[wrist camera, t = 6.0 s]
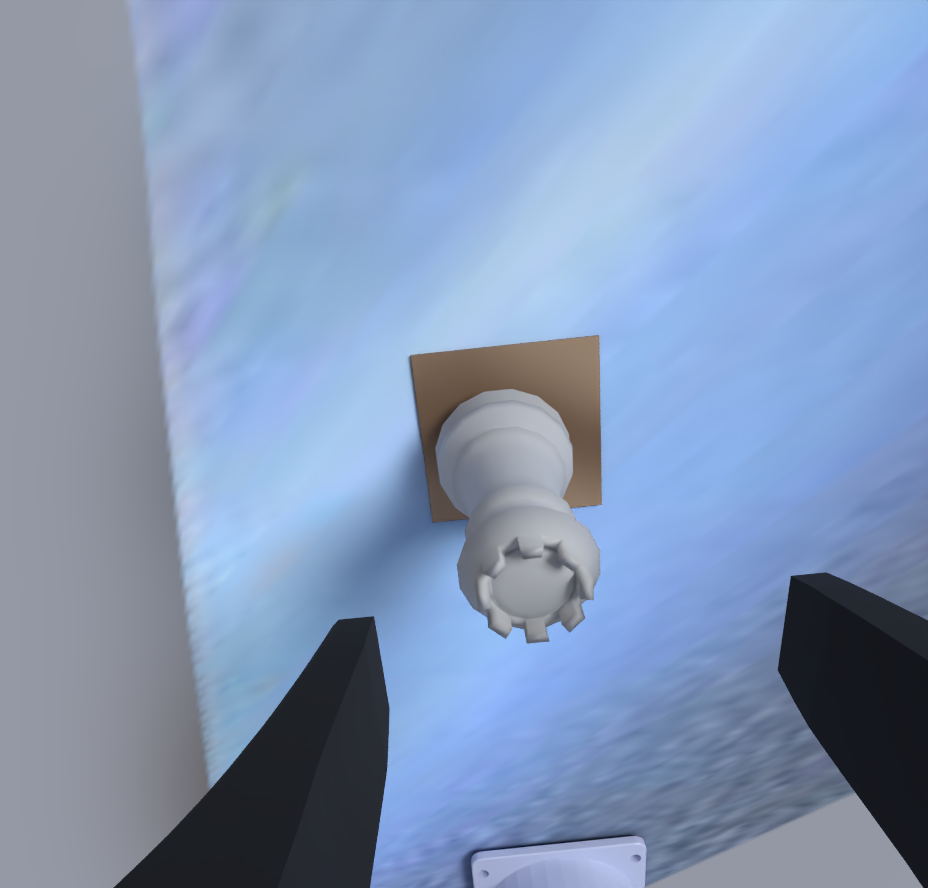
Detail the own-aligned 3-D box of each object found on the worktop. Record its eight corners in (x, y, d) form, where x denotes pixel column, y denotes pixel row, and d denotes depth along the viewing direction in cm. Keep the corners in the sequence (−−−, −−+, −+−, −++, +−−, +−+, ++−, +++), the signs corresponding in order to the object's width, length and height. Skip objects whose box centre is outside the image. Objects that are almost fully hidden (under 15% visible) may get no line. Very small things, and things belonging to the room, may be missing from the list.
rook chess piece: (556, 510, 21) (617, 682, 14) (430, 501, 21) (422, 671, 13) (578, 390, 19) (661, 511, 12) (440, 378, 19) (437, 495, 12)
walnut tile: (597, 497, 21) (601, 504, 21) (433, 514, 21) (432, 522, 21) (594, 332, 19) (599, 335, 19) (411, 351, 19) (410, 356, 19)
